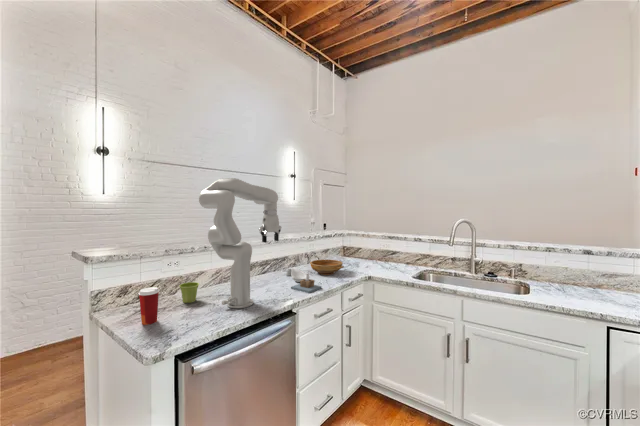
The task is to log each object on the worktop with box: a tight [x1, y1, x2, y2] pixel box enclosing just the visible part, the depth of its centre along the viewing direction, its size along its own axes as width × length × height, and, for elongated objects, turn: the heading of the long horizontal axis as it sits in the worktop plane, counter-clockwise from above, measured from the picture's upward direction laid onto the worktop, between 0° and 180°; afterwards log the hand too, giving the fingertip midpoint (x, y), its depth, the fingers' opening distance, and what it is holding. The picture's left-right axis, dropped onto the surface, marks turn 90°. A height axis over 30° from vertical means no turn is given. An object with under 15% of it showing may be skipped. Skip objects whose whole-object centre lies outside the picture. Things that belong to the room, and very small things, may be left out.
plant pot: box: [179, 281, 200, 304], centre depth 145 cm, size 9×9×9 cm
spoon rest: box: [285, 266, 311, 283], centre depth 190 cm, size 24×12×7 cm, turn 33°
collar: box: [299, 278, 315, 288], centre depth 169 cm, size 6×6×4 cm
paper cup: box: [138, 286, 160, 326], centre depth 119 cm, size 8×8×14 cm
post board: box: [290, 272, 322, 294], centre depth 168 cm, size 12×14×9 cm
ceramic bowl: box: [309, 259, 345, 276], centre depth 207 cm, size 30×24×8 cm
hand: (270, 241), depth 167 cm, fingers open, 9 cm apart
